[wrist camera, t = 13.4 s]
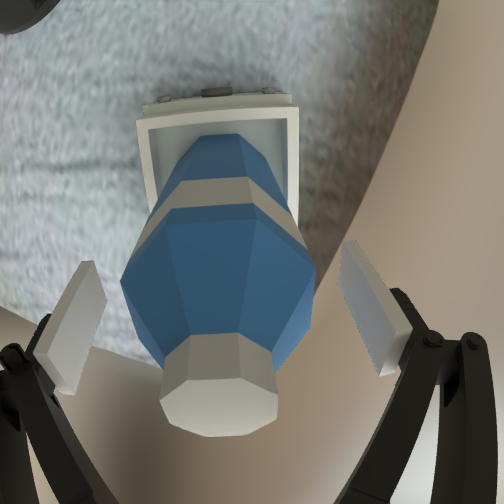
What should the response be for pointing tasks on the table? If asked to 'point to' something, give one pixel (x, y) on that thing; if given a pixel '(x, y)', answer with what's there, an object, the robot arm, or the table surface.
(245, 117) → the open storage box
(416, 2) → the table surface
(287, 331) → the water bottle
